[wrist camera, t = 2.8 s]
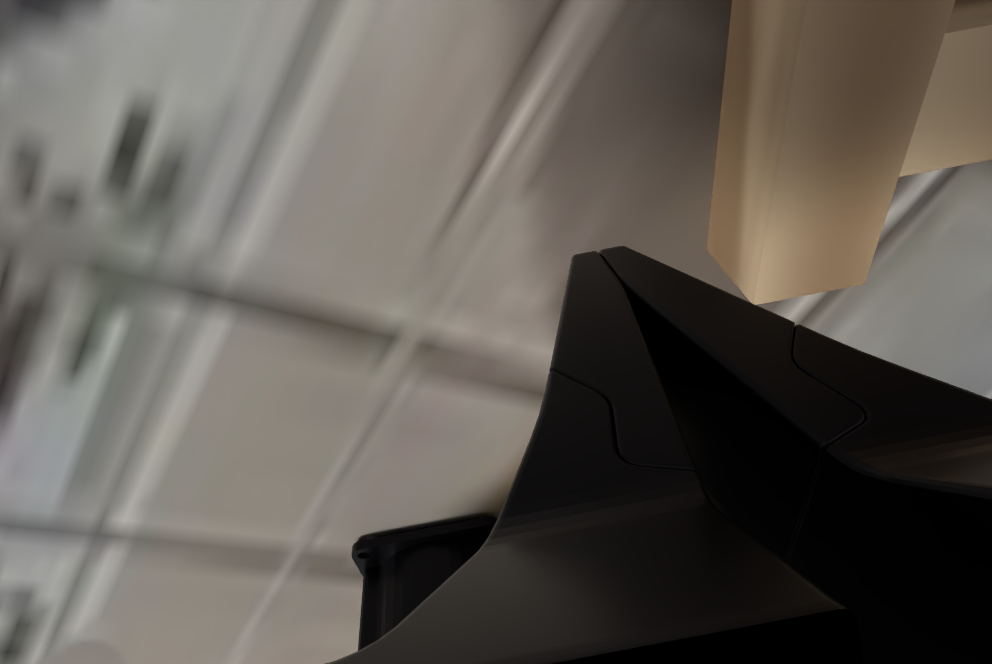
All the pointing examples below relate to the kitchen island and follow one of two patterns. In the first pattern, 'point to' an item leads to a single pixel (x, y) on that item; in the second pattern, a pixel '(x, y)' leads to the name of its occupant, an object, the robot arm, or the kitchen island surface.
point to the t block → (838, 130)
